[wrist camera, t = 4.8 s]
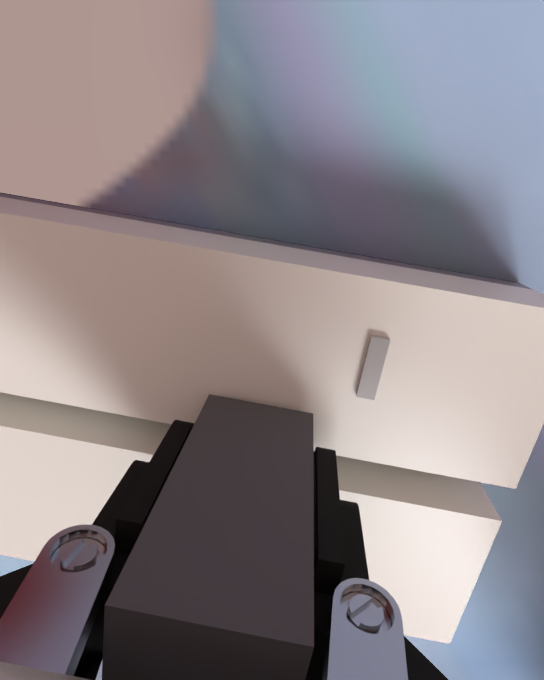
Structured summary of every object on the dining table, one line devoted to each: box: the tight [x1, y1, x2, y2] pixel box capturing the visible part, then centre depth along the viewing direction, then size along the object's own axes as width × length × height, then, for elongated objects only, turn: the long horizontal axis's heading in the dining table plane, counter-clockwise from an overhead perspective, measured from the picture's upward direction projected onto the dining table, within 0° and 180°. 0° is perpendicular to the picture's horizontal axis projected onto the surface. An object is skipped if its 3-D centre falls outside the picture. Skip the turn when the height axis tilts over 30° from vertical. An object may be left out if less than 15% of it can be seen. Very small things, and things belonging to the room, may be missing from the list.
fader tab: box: [102, 394, 314, 680], centre depth 11 cm, size 4×3×10 cm
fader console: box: [0, 193, 544, 644], centre depth 15 cm, size 12×26×4 cm, turn 81°
